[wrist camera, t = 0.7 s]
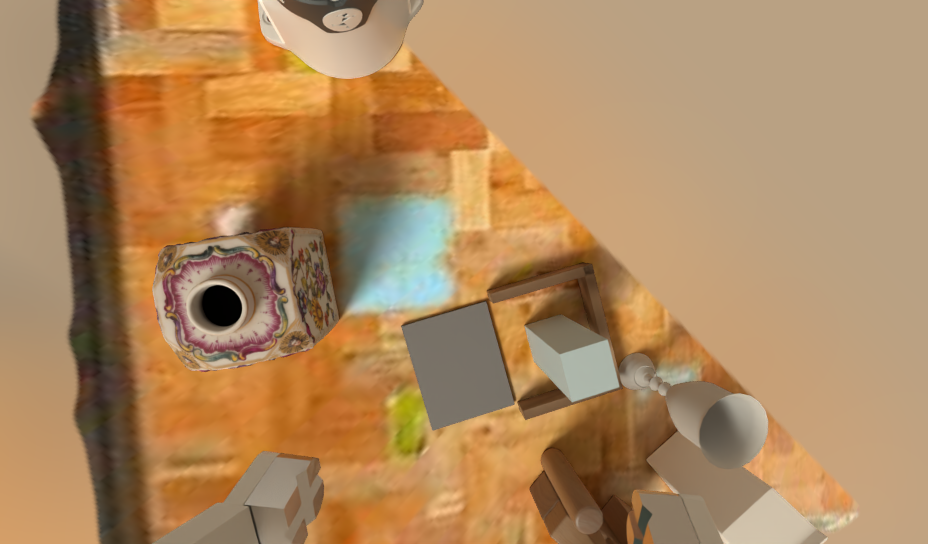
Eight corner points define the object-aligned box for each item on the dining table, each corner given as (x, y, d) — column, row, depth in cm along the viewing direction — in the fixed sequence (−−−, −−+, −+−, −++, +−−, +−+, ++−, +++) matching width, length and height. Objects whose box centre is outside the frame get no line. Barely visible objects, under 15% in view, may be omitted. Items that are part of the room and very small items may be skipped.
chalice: (647, 405, 58) (748, 479, 40) (603, 387, 57) (686, 455, 40) (668, 355, 58) (780, 407, 40) (624, 337, 57) (719, 382, 39)
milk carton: (644, 459, 59) (751, 563, 40) (683, 424, 59) (807, 512, 40) (675, 494, 60) (793, 613, 41) (712, 460, 60) (848, 562, 41)
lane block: (524, 325, 56) (559, 354, 42) (560, 314, 56) (607, 339, 42) (534, 361, 56) (572, 402, 42) (570, 350, 56) (619, 387, 43)
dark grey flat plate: (401, 325, 54) (401, 326, 53) (485, 300, 55) (486, 301, 54) (432, 428, 55) (432, 430, 55) (513, 402, 56) (514, 404, 56)
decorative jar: (324, 227, 52) (276, 223, 34) (342, 321, 53) (304, 364, 35) (222, 244, 51) (116, 248, 33) (243, 339, 52) (152, 393, 34)
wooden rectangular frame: (486, 290, 55) (490, 293, 52) (582, 262, 56) (592, 263, 53) (519, 410, 56) (525, 419, 53) (612, 380, 57) (622, 388, 54)
